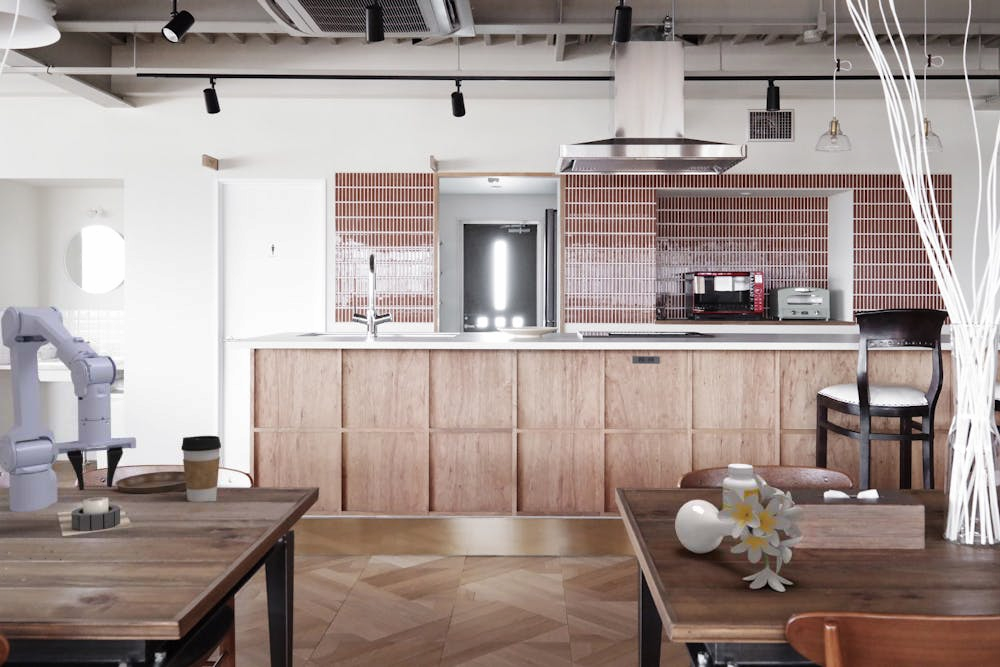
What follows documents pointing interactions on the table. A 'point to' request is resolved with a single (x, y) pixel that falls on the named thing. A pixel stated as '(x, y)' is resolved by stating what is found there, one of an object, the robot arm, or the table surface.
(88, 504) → the white cylinder
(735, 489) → the supplement bottle
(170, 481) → the plant saucer
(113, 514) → the dark grey segmented ring
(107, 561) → the table surface
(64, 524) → the mount plate
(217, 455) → the coffee cup
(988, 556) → the table surface
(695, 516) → the flower vase
